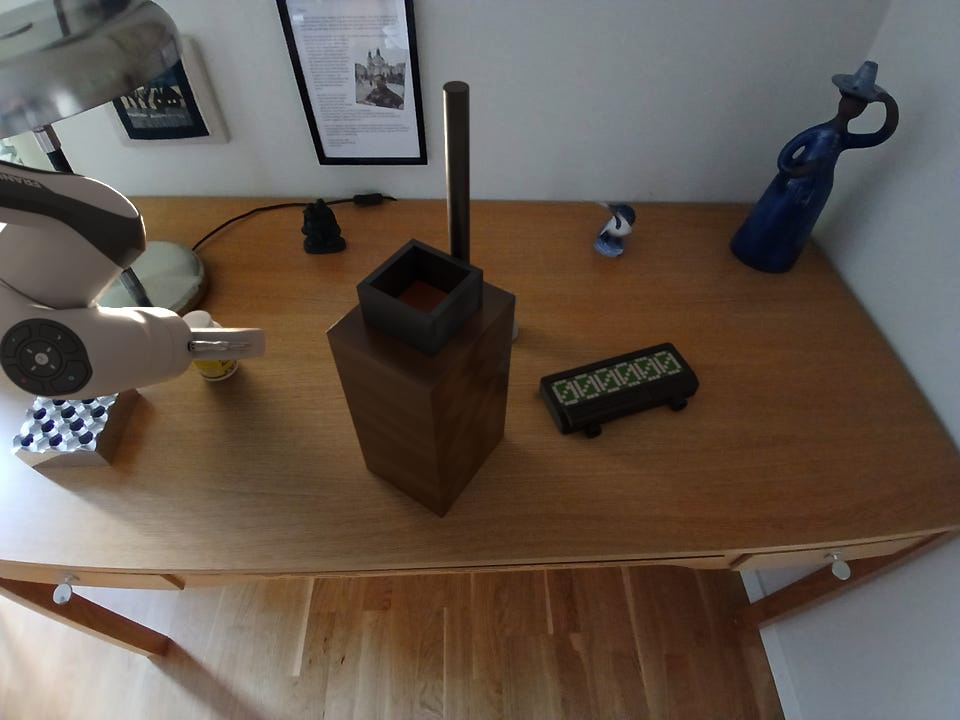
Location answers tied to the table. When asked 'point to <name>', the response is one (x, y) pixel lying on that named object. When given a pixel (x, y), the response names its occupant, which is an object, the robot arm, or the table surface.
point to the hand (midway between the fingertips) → (207, 339)
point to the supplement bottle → (209, 368)
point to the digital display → (617, 388)
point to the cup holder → (429, 349)
